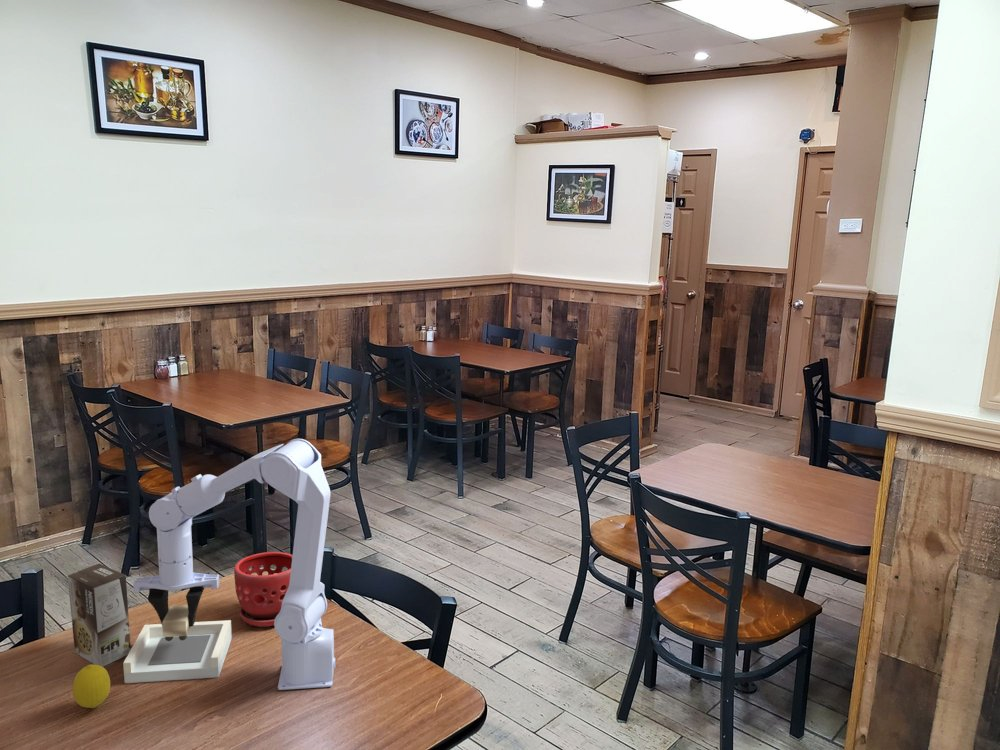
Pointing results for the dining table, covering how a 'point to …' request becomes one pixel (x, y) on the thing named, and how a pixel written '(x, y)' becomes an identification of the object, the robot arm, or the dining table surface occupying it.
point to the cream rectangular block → (176, 623)
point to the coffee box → (99, 614)
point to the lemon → (91, 686)
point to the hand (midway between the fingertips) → (179, 624)
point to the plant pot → (262, 586)
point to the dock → (178, 653)
